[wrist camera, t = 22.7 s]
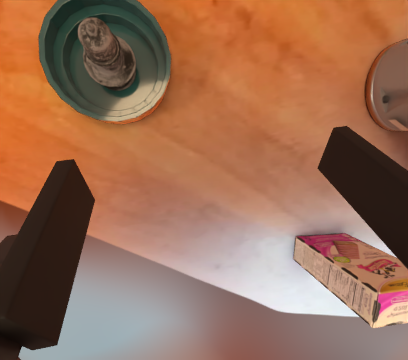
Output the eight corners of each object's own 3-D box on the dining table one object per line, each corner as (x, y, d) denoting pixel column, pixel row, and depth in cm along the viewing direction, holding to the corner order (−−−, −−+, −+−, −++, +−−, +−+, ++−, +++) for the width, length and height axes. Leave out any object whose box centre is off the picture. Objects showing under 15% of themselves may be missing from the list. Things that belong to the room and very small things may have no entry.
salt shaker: (81, 63, 29) (31, 12, 17) (117, 36, 29) (91, -32, 18) (113, 102, 31) (86, 78, 19) (147, 76, 31) (141, 36, 19)
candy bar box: (345, 231, 43) (454, 283, 27) (342, 255, 44) (446, 319, 28) (294, 234, 41) (380, 293, 25) (291, 259, 42) (373, 332, 26)
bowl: (77, -10, 28) (61, -41, 23) (182, 45, 32) (187, 27, 27) (44, 98, 29) (21, 90, 24) (148, 139, 33) (147, 139, 28)
